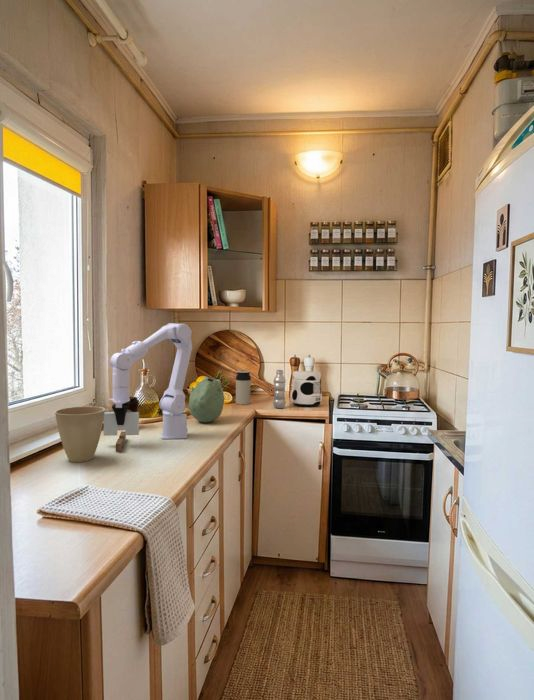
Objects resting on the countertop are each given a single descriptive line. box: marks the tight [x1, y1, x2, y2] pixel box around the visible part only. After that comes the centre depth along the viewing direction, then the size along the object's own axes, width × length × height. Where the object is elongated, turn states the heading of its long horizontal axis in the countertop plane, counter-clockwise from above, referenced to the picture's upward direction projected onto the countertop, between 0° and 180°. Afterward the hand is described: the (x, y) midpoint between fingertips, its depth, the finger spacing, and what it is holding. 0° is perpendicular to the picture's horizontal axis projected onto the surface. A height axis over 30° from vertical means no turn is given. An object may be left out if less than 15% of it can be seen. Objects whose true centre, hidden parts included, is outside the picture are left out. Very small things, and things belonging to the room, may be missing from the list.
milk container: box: [290, 370, 323, 407], centre depth 259 cm, size 17×17×18 cm
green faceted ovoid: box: [187, 376, 225, 424], centre depth 211 cm, size 16×19×20 cm
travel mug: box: [235, 369, 252, 406], centre depth 260 cm, size 8×8×18 cm
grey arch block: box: [103, 411, 140, 437], centre depth 169 cm, size 12×2×8 cm, turn 101°
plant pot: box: [54, 405, 106, 463], centre depth 153 cm, size 15×15×16 cm
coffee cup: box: [126, 396, 140, 412], centre depth 196 cm, size 9×8×13 cm
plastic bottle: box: [272, 369, 287, 409], centre depth 248 cm, size 6×7×20 cm
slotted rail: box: [115, 430, 127, 453], centre depth 170 cm, size 2×18×3 cm, turn 11°
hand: (120, 424), depth 169 cm, fingers closed on grey arch block, 2 cm apart
